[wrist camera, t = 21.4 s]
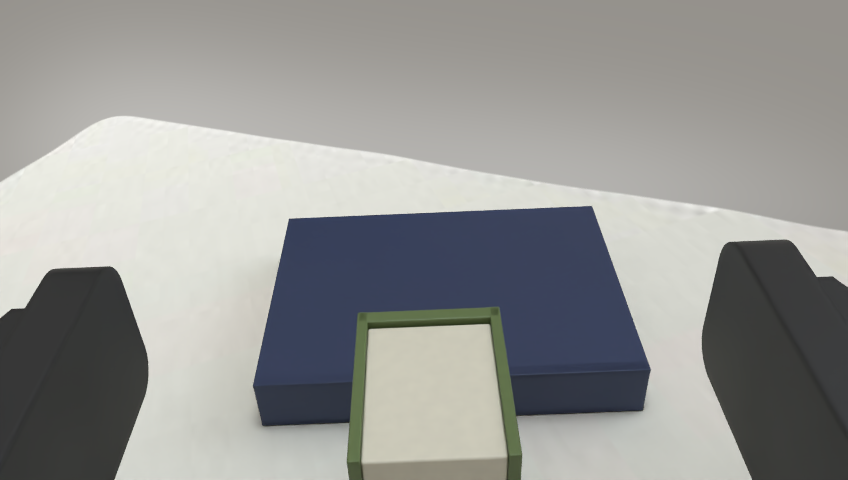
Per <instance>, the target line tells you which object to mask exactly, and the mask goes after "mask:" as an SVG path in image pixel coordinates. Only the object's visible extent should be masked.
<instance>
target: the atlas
mask: <svg viewBox="0 0 848 480" xmlns="http://www.w3.org/2000/svg"><path fill="white" fill-rule="evenodd" d="M486 307H499V308H500V314H501V321H502V327H503V334H504V340H505V347H506V353H507V360H508V366H509V373H510V379H511V386H512V392H513V399H514V405H515V412H516V415H536V414H561V413H586V412H610V411H635V410H643V408H644V401H645V395H646V390H647V385H648V379H649V374H650V371H651V369H650V366H649V364H648V361H647V358H646V355H645V352H644V350H643V347H642V344H641V341H640V339H639V336H638V333H637V330H636V327H635V325H634V322H633V319H632V316H631V314H630V311H629V308H628V305H627V302H626V300H625V297H624V294H623V291H622V289H621V286H620V283H619V280H618V277H617V275H616V272H615V269H614V266H613V263H612V261H611V258H610V255H609V252H608V250H607V247H606V244H605V241H604V238H603V236H602V233H601V230H600V227H599V225H598V222H597V219H596V216H595V213H594V211H593V208H592V206H583V207H559V208H535V209H511V210H487V211H463V212H439V213H415V214H391V215H367V216H344V217H320V218H296V219H289V222H288V226H287V231H286V236H285V240H284V245H283V249H282V254H281V259H280V263H279V268H278V272H277V277H276V282H275V286H274V291H273V296H272V300H271V305H270V309H269V314H268V319H267V323H266V328H265V333H264V337H263V342H262V346H261V351H260V356H259V360H258V365H257V370H256V374H255V379H254V383H253V388H254V391H255V395H256V400H257V404H258V408H259V412H260V417H261V421H262V425H263V426H265V425H290V424H315V423H339V422H350V411H351V397H352V384H353V370H354V356H355V342H356V329H357V315H358V313H360V312H390V311H414V310H438V309H462V308H486Z"/></svg>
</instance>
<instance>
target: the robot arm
mask: <svg viewBox="0 0 848 480" xmlns="http://www.w3.org/2000/svg"><path fill="white" fill-rule="evenodd" d="M702 353H703V360H704V365H705V369H706V372H707V375H708V377H709V380H710V382H711V384H712V387H713V389H714V391H715V394H716V396H717V398H718V401H719V403H720V405H721V408H722V410H723V412H724V415H725V417H726V419H727V422H728V424H729V426H730V429H731V431H732V433H733V436H734V438H735V440H736V443H737V445H738V447H739V450H740V452H741V454H742V457H743V459H744V461H745V464H746V466H747V468H748V471H749V473H750V475H751V478H752V480H848V287H846V286H845V285H844V284H842V283H841V282H839V281H838V280H837V279H835V278H834V277H816V275H815V274H814V272H813V271H812V269H811V268H810V267H809V265H808V264H807V262H806V261H805V259H804V258H803V256H802V255H801V253H800V252H799V250H798V249H797V247H796V246H795V245H794V244H793V243H792V242H791V241H789V240H765V241H741V242H728V243H727V244H725V245H724V247H723V249H722V251H721V253H720V257H719V261H718V265H717V270H716V274H715V278H714V283H713V287H712V291H711V295H710V300H709V304H708V308H707V313H706V317H705V321H704V326H703V331H702ZM147 384H148V358H147V353H146V349H145V346H144V343H143V340H142V337H141V334H140V331H139V329H138V326H137V323H136V320H135V317H134V314H133V311H132V308H131V306H130V303H129V300H128V297H127V294H126V291H125V288H124V286H123V283H122V280H121V278H120V275H119V274H118V272H117V271H116V270H115V269H114V268H113V267H110V266H109V267H86V268H62V269H52V270H50V271H49V272H48V273H47V274H46V275H45V276H44V278H43V279H42V281H41V283H40V284H39V286H38V288H37V289H36V291H35V293H34V294H33V296H32V298H31V299H30V301H29V303H28V304H27V306H26V307H25V308H24V309H11V310H10V311H9V312H7V313H6V314H5V315H4V316H3V317H1V318H0V480H114V479H115V476H116V473H117V471H118V468H119V465H120V463H121V460H122V457H123V454H124V452H125V449H126V446H127V443H128V441H129V438H130V435H131V433H132V430H133V427H134V424H135V422H136V419H137V416H138V413H139V411H140V408H141V405H142V402H143V400H144V397H145V394H146V389H147Z"/></svg>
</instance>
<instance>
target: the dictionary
mask: <svg viewBox="0 0 848 480" xmlns="http://www.w3.org/2000/svg"><path fill="white" fill-rule="evenodd" d="M521 466H522V451H521V444H520V438H519V431H518V425H517V418H516V412H515V405H514V399H513V392H512V386H511V379H510V373H509V366H508V360H507V353H506V347H505V340H504V334H503V327H502V321H501V314H500V308H499V307H486V308H462V309H438V310H414V311H390V312H360V313H358V315H357V329H356V342H355V356H354V370H353V384H352V397H351V411H350V425H349V438H348V452H347V467H348V474H349V480H521Z"/></svg>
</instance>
